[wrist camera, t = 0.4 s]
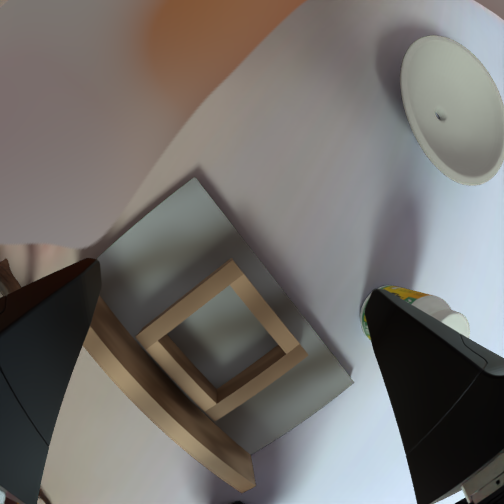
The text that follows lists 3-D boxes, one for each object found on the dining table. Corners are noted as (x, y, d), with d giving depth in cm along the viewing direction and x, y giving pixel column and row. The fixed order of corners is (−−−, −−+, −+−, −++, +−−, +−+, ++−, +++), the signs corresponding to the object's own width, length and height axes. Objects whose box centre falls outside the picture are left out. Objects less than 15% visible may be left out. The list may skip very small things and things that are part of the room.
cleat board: (350, 378, 25) (376, 405, 20) (231, 459, 25) (234, 496, 19) (195, 179, 23) (188, 161, 18) (71, 286, 23) (38, 296, 17)
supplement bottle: (393, 346, 26) (456, 385, 16) (348, 333, 25) (406, 375, 16) (414, 294, 26) (485, 314, 16) (371, 275, 25) (440, 292, 16)
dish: (409, 34, 25) (430, 13, 20) (490, 115, 26) (515, 104, 21) (347, 126, 25) (371, 105, 20) (451, 223, 26) (484, 221, 21)
